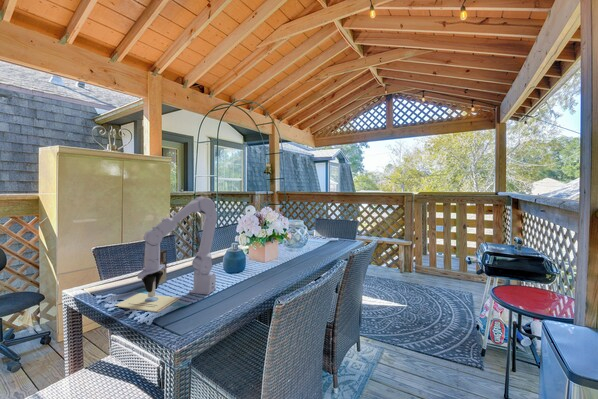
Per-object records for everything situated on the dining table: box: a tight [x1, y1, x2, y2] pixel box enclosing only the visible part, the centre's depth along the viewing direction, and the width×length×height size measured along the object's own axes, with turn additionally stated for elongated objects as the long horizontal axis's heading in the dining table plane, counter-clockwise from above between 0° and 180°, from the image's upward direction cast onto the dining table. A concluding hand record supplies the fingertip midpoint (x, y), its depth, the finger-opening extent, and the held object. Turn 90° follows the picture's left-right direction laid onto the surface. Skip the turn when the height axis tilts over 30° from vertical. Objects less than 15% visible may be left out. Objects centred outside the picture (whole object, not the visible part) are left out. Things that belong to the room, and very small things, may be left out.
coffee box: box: [142, 249, 168, 287], centre depth 141 cm, size 9×6×16 cm
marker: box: [147, 277, 156, 297], centre depth 122 cm, size 3×3×8 cm
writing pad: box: [113, 292, 181, 313], centre depth 120 cm, size 20×14×1 cm
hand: (151, 290), depth 122 cm, fingers closed on marker, 3 cm apart
